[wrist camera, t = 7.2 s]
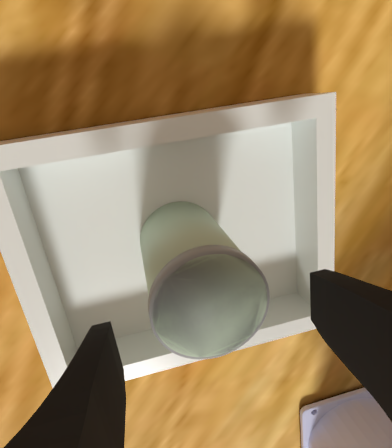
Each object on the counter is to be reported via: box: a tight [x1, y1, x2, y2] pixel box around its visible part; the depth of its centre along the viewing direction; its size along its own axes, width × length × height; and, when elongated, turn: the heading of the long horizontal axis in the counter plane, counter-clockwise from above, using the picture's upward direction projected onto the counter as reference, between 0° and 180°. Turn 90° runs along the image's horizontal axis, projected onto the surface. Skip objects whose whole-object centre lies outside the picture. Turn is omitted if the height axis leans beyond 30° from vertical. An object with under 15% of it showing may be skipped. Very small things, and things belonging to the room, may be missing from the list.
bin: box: [0, 92, 336, 388], centre depth 18 cm, size 16×13×3 cm
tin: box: [140, 201, 270, 360], centre depth 16 cm, size 5×5×7 cm
